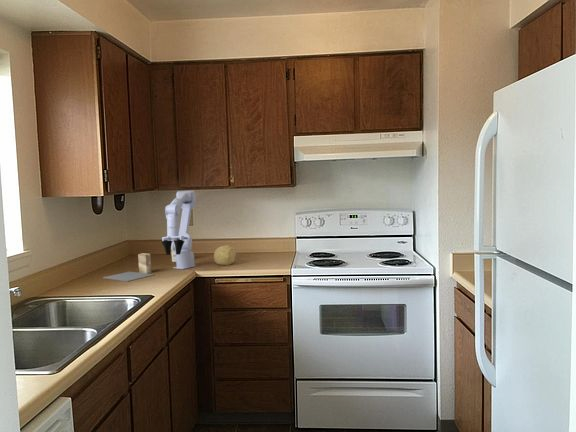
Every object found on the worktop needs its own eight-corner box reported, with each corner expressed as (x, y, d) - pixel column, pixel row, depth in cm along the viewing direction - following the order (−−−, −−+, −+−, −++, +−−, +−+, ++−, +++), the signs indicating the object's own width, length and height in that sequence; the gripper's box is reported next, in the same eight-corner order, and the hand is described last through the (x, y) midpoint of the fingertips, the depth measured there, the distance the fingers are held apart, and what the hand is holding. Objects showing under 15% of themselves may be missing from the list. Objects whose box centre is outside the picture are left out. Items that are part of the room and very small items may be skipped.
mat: (129, 272, 264) (129, 271, 264) (154, 275, 252) (154, 274, 252) (102, 278, 251) (102, 277, 251) (127, 281, 239) (127, 280, 239)
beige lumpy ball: (230, 266, 268) (229, 246, 267) (210, 266, 272) (209, 246, 271) (239, 262, 279) (238, 243, 278) (220, 262, 283) (219, 243, 282)
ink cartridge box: (186, 259, 297) (185, 235, 296) (186, 261, 293) (185, 236, 291) (172, 260, 296) (170, 236, 295) (171, 262, 291) (170, 237, 290)
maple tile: (144, 272, 263) (142, 253, 262) (151, 272, 259) (150, 253, 258) (139, 273, 260) (138, 254, 260) (146, 274, 257) (145, 254, 256)
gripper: (157, 228, 256) (157, 255, 255) (176, 227, 248) (176, 254, 247) (168, 228, 262) (168, 254, 261) (187, 227, 253) (187, 254, 252)
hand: (173, 254), depth 254 cm, fingers open, 7 cm apart
